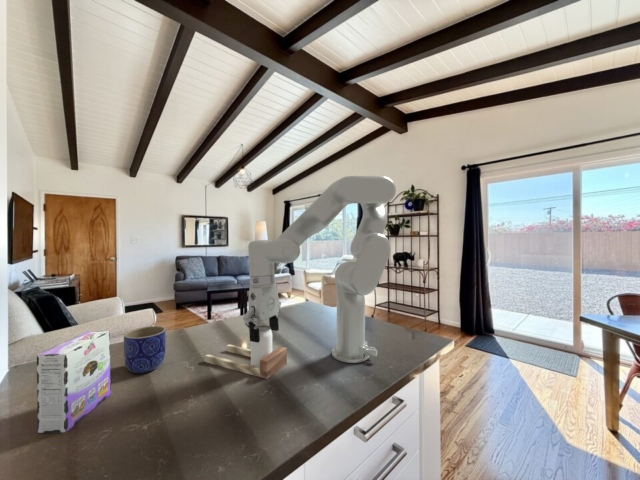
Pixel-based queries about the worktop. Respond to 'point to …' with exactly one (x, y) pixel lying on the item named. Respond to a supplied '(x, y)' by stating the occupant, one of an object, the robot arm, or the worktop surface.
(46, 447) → the worktop surface
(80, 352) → the candy box
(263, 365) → the rail channel
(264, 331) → the can
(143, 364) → the planter
